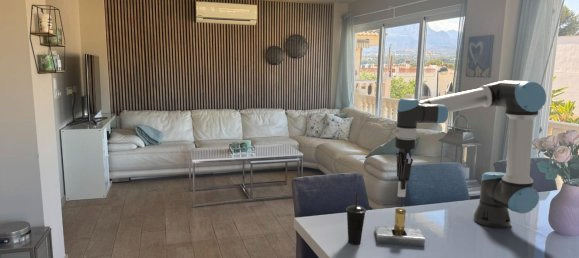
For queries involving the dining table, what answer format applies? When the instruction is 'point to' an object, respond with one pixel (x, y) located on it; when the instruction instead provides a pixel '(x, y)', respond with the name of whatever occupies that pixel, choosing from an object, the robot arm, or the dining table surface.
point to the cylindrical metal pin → (399, 221)
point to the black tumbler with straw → (355, 222)
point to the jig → (399, 236)
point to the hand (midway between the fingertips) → (401, 196)
